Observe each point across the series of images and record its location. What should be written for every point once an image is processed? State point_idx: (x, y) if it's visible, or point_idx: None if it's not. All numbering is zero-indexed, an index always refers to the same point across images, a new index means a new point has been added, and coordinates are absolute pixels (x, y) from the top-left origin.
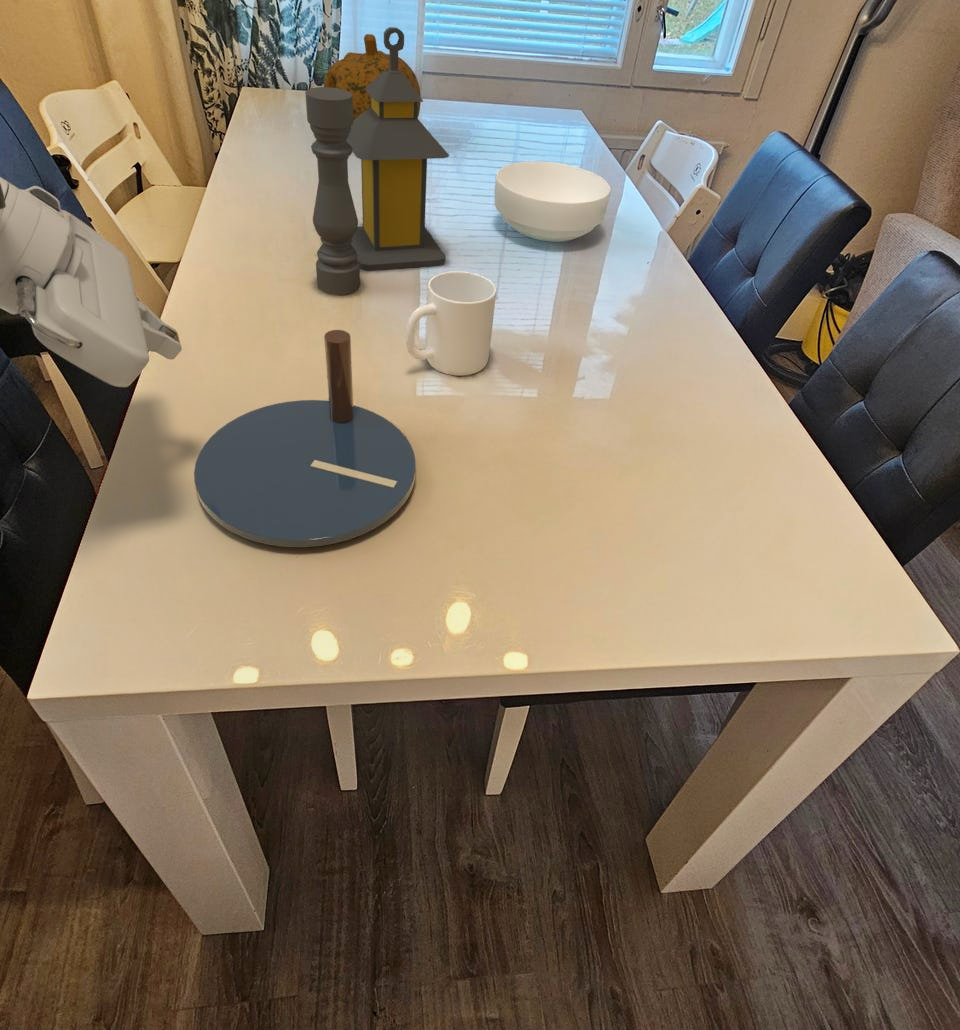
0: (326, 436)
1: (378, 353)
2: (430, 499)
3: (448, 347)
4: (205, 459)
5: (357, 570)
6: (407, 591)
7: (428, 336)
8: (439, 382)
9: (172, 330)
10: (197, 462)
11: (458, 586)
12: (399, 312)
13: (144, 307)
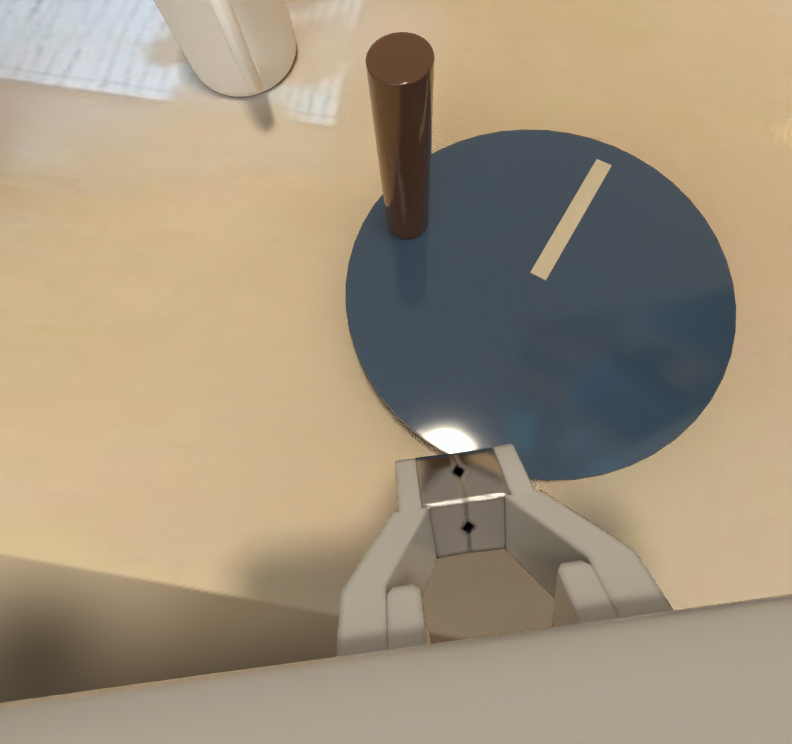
0: (462, 250)
1: (196, 164)
2: None
3: (269, 19)
4: None
5: (746, 250)
6: (787, 193)
7: (224, 44)
8: (304, 90)
9: (423, 473)
10: None
11: (775, 134)
12: (75, 119)
13: (380, 594)
